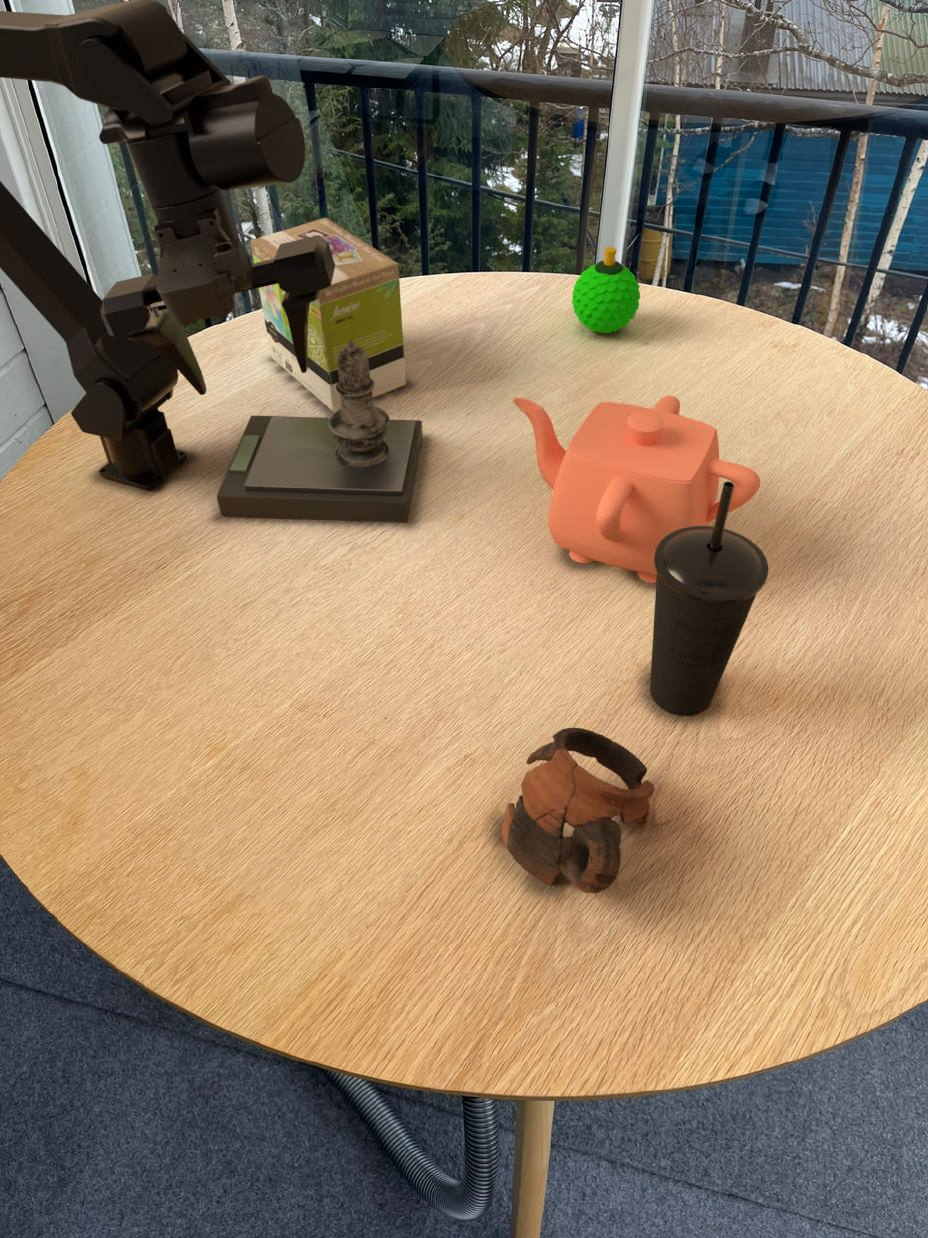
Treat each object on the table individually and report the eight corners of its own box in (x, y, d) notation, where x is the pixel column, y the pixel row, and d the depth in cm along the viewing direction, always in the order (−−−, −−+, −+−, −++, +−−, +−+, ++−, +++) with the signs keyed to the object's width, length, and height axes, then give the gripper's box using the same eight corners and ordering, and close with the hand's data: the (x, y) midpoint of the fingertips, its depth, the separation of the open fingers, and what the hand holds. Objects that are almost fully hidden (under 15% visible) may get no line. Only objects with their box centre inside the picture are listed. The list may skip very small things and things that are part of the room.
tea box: (268, 360, 111) (246, 236, 101) (340, 335, 115) (327, 213, 105) (333, 416, 102) (316, 285, 92) (409, 386, 107) (402, 258, 96)
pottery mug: (478, 799, 67) (526, 706, 64) (591, 822, 70) (641, 735, 67) (521, 926, 57) (580, 823, 54) (651, 947, 60) (713, 850, 57)
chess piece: (404, 453, 92) (397, 340, 84) (356, 477, 89) (343, 363, 81) (367, 428, 95) (357, 317, 87) (320, 451, 92) (304, 338, 84)
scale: (221, 516, 90) (215, 494, 88) (254, 434, 100) (250, 413, 98) (407, 523, 89) (406, 500, 87) (422, 439, 99) (421, 418, 97)
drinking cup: (736, 669, 75) (796, 462, 61) (723, 741, 70) (785, 532, 56) (642, 647, 77) (679, 441, 63) (622, 716, 72) (657, 508, 58)
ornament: (581, 309, 119) (588, 230, 112) (643, 321, 117) (654, 241, 110) (560, 338, 114) (566, 257, 107) (625, 351, 112) (635, 269, 105)
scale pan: (245, 490, 89) (243, 485, 88) (272, 421, 97) (271, 416, 97) (402, 495, 88) (401, 490, 88) (416, 425, 97) (415, 420, 96)
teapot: (747, 571, 83) (781, 447, 74) (590, 621, 79) (605, 495, 70) (650, 471, 95) (669, 351, 85) (508, 509, 90) (511, 388, 81)
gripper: (39, 253, 67) (130, 446, 76) (291, 194, 65) (352, 399, 75) (83, 212, 76) (160, 389, 85) (306, 158, 74) (359, 346, 84)
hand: (254, 382), depth 82 cm, fingers open, 9 cm apart
